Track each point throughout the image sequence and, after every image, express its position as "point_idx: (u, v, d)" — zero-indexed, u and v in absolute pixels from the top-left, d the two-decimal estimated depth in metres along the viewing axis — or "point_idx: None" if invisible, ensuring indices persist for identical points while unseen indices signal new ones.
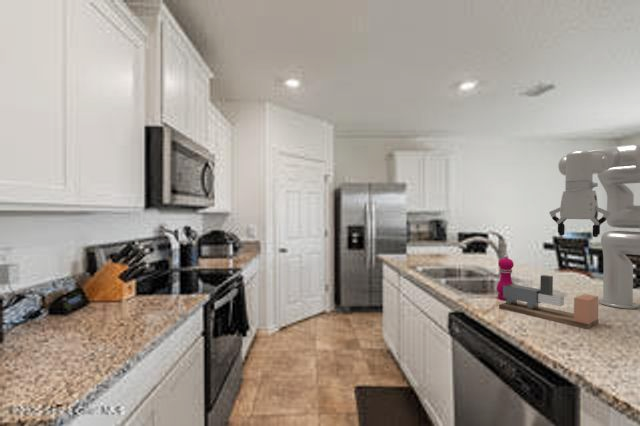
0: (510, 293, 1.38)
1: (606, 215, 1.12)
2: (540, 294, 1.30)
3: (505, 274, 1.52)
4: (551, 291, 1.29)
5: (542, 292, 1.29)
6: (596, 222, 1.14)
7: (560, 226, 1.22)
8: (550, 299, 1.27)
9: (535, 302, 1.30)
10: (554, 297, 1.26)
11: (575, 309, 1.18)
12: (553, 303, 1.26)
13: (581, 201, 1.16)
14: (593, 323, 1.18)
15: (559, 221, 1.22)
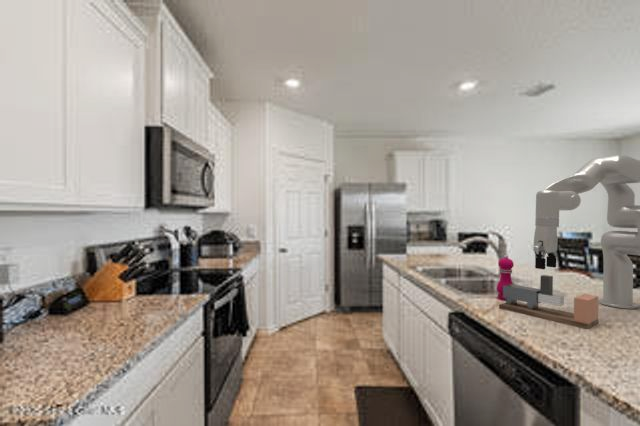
0: (510, 293, 1.38)
1: None
2: (540, 294, 1.30)
3: (505, 274, 1.52)
4: (551, 291, 1.29)
5: (542, 292, 1.29)
6: (555, 254, 1.31)
7: (545, 260, 1.25)
8: (550, 299, 1.27)
9: (535, 302, 1.30)
10: (554, 297, 1.26)
11: (575, 309, 1.18)
12: (553, 303, 1.26)
13: (555, 236, 1.28)
14: (593, 323, 1.18)
15: (544, 256, 1.25)
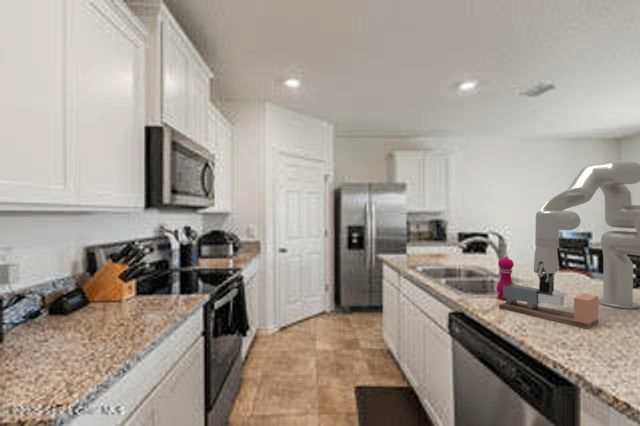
0: (510, 293, 1.38)
1: (554, 273, 1.32)
2: (540, 294, 1.30)
3: (505, 274, 1.52)
4: (551, 291, 1.29)
5: (542, 292, 1.29)
6: None
7: None
8: (550, 299, 1.27)
9: (535, 302, 1.30)
10: (554, 297, 1.26)
11: (575, 309, 1.18)
12: (553, 303, 1.26)
13: (555, 257, 1.28)
14: (593, 323, 1.18)
15: (547, 279, 1.27)
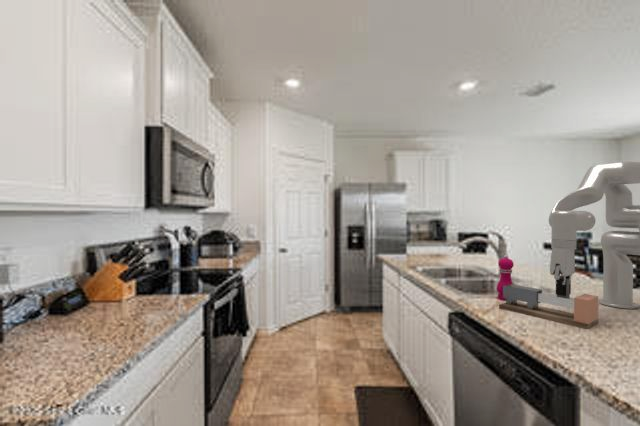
0: (510, 293, 1.38)
1: (571, 275, 1.28)
2: (556, 297, 1.25)
3: (505, 274, 1.52)
4: (568, 294, 1.24)
5: (559, 295, 1.25)
6: None
7: None
8: (567, 303, 1.22)
9: (535, 302, 1.30)
10: (571, 300, 1.21)
11: (575, 309, 1.18)
12: (570, 306, 1.22)
13: (572, 259, 1.24)
14: (593, 323, 1.18)
15: (564, 282, 1.22)
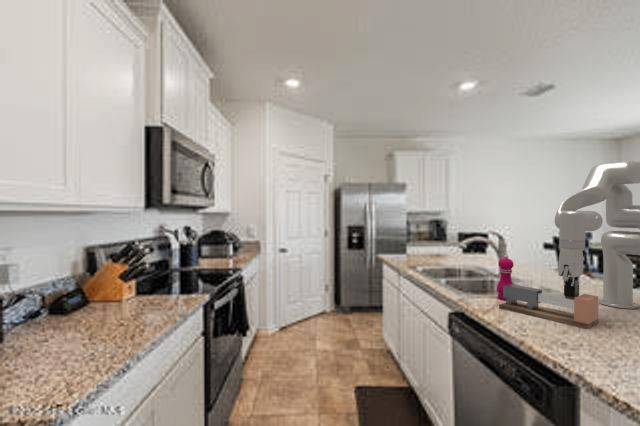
0: (510, 293, 1.38)
1: (579, 276, 1.25)
2: (565, 299, 1.23)
3: (505, 274, 1.52)
4: (577, 296, 1.22)
5: None
6: (578, 282, 1.23)
7: (574, 288, 1.21)
8: None
9: (535, 302, 1.30)
10: None
11: (575, 309, 1.18)
12: None
13: (581, 259, 1.22)
14: (593, 323, 1.18)
15: (573, 283, 1.20)
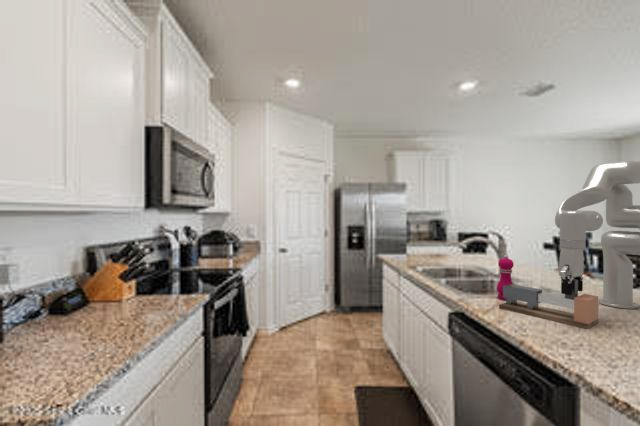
0: (510, 293, 1.38)
1: None
2: (564, 299, 1.23)
3: (505, 274, 1.52)
4: (576, 296, 1.22)
5: (567, 296, 1.23)
6: (581, 277, 1.25)
7: None
8: None
9: (535, 302, 1.30)
10: None
11: (575, 309, 1.18)
12: None
13: (581, 259, 1.22)
14: (593, 323, 1.18)
15: (570, 281, 1.19)
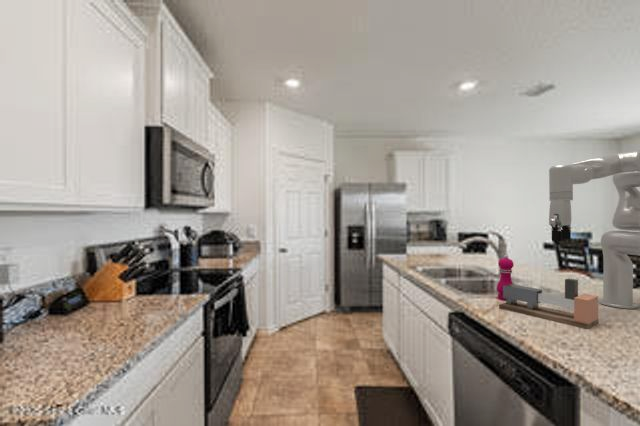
0: (510, 293, 1.38)
1: None
2: (564, 299, 1.23)
3: (505, 274, 1.52)
4: (576, 296, 1.22)
5: (567, 296, 1.23)
6: (569, 227, 1.36)
7: (561, 233, 1.29)
8: None
9: (535, 302, 1.30)
10: None
11: (575, 309, 1.18)
12: None
13: (569, 209, 1.32)
14: (593, 323, 1.18)
15: (560, 228, 1.29)
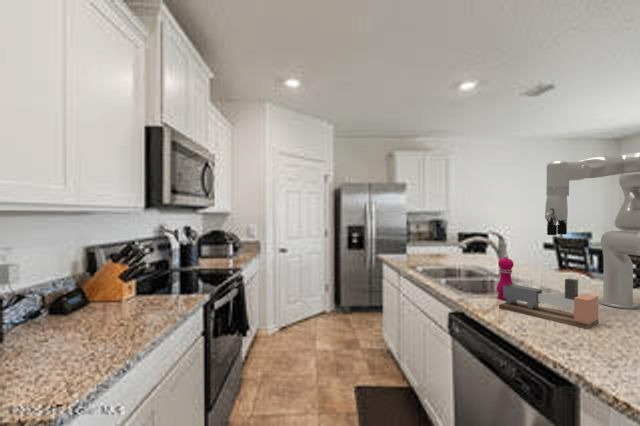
0: (510, 293, 1.38)
1: None
2: (564, 299, 1.23)
3: (505, 274, 1.52)
4: (576, 296, 1.22)
5: (567, 296, 1.23)
6: (566, 222, 1.39)
7: (556, 227, 1.33)
8: None
9: (535, 302, 1.30)
10: None
11: (575, 309, 1.18)
12: None
13: (565, 205, 1.36)
14: (593, 323, 1.18)
15: (555, 222, 1.33)
